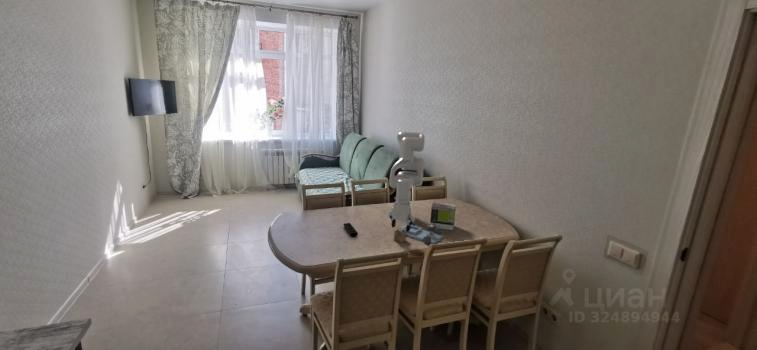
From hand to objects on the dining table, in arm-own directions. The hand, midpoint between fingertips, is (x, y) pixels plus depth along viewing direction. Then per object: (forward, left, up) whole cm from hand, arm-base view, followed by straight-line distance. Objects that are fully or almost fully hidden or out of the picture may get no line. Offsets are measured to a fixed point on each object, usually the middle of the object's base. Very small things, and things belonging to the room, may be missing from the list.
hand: (400, 229), depth 205 cm
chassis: (+5, +15, -7) cm, 17 cm away
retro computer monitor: (+10, +38, -8) cm, 40 cm away
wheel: (+13, +15, -4) cm, 20 cm away
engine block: (0, +1, -8) cm, 8 cm away
